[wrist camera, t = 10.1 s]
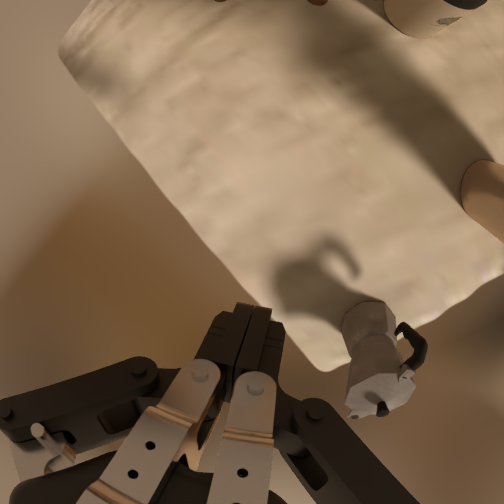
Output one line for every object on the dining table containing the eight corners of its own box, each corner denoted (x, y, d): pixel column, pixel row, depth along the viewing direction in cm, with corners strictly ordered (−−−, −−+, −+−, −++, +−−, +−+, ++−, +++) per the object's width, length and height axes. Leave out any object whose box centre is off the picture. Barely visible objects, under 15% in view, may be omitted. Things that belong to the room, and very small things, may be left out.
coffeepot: (367, 357, 45) (376, 443, 30) (323, 340, 45) (320, 431, 30) (421, 292, 38) (460, 378, 22) (375, 268, 38) (404, 358, 22)
